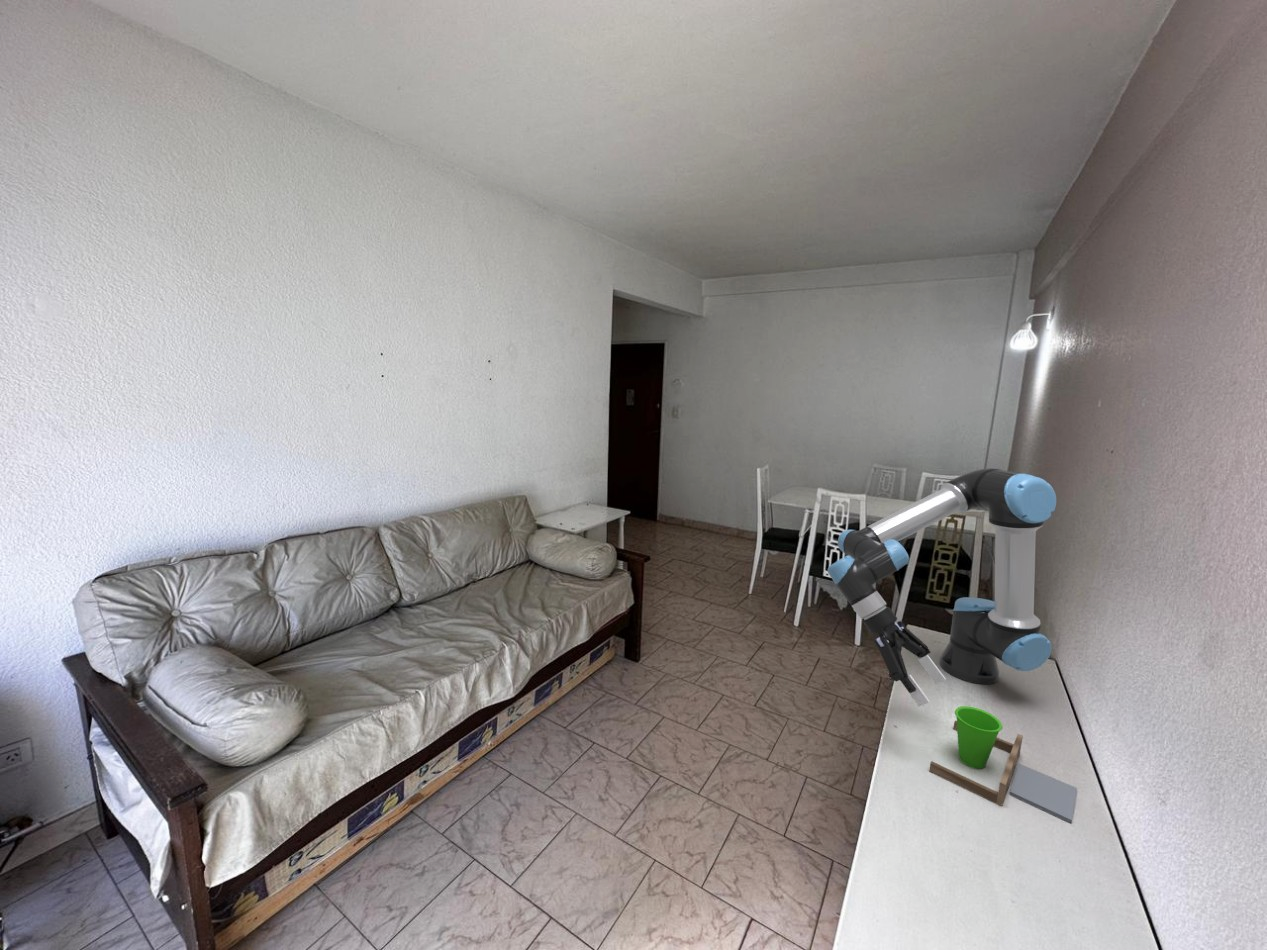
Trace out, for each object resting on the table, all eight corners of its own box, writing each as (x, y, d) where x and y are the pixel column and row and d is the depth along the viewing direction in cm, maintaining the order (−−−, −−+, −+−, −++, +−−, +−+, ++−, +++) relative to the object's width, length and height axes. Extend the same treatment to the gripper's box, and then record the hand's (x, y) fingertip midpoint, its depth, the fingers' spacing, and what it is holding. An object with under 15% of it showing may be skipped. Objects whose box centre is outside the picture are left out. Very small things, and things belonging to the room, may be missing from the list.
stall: (954, 727, 128) (956, 709, 127) (1019, 754, 119) (1022, 735, 118) (929, 771, 113) (931, 751, 112) (1002, 806, 103) (1005, 785, 103)
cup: (940, 753, 119) (945, 710, 117) (966, 744, 122) (972, 702, 120) (978, 780, 110) (984, 735, 109) (1004, 769, 114) (1011, 725, 112)
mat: (1018, 766, 115) (1019, 763, 115) (1076, 791, 108) (1077, 788, 108) (1009, 794, 106) (1010, 791, 106) (1071, 823, 100) (1072, 820, 99)
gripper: (880, 606, 139) (934, 678, 131) (843, 634, 122) (902, 719, 114) (903, 593, 135) (960, 667, 127) (867, 621, 117) (931, 708, 109)
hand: (933, 692), depth 120 cm, fingers open, 13 cm apart
